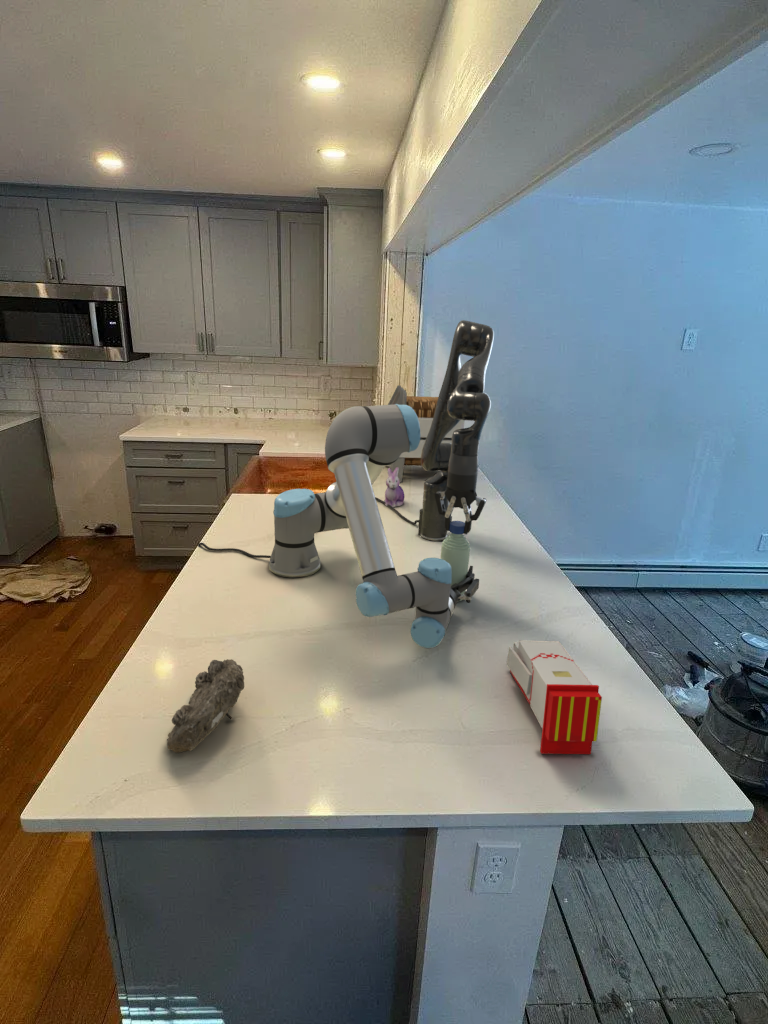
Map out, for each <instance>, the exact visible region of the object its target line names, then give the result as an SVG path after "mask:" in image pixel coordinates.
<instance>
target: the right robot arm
mask: <svg viewBox="0 0 768 1024" xmlns="http://www.w3.org/2000/svg"><path fill="white" fill-rule="evenodd" d="M452 338H453V339H452V343H451V347H450V352H449V357H448V361H447V366H446V370H445V374H444V377H443V381H442V384H441V387H440V390H439V393H438V396H437V397H438V401H437V405H436V409H435V413H434V417H433V420H432V424H431V427H430V430H429V433H428V435H427V438H426V440H425V443H424V446H423V449H422V452H421V465H422V466H421V467H422V469H423V470H424V471H427V472H436V473H435V474H434V475H432V476H430V477H428V478H427V479H425V480H424V482H423V493H422V496H423V497H422V506H421V508H420V509H419V516H418V519H416V520H415V521H411V520H410V519H408V518H407V517H406V516H403V515H402V514H401V513H400V512H399V511H398V510H397V509H396V508H395V507H392V506H390V505H389V504H388V505H387V506H386V507H388V508H389V509H391V510H392V511H393V512H394V513H395V514H397V516H399V518H401V519H403V520H404V521H405V522H407V523H409V524H410V525H414V526H416V525H417V524H418V530H417V535H418V536H420V538H421V539H424V540H426V541H432V542H440V541H443V540H444V539H445V538H446V537H448V532H450V531H449V527H450V522H451V521H453V516H452V514H453V511H454V509H455V508H457V509H458V508H459V509H462V511H463V514H464V517H465V521H464V522H465V528H464V534H463V535H468V533H470V532H471V530H472V525H473V522H472V521H474V522H475V521H477V520H478V519H479V518H480V516H481V513H482V512H483V510H484V507H485V505H486V503H487V497H486V498H485V497H480V496H479V495H478V494H477V482H478V480H477V479H478V474H479V473H478V472H479V453H480V452H479V451H480V445H481V444H480V442H481V437H482V432H483V429H484V426H485V423H486V421H487V420H488V419H487V418H488V416H489V414H490V411H491V408H492V401H491V398H490V396H489V394H487V393H486V392H485V386H486V385H485V384H486V373H487V369H488V365H489V361H490V358H491V353H492V349H493V345H494V338H495V331H494V328H493V327H491V326H489V325H487V324H482V323H479V322H475V321H471V320H467V319H466V320H465V319H462V320H460V321H459V322H458V323H457V325H456V328H455V330H454V334H453V337H452ZM461 355H462V356H468V357H471V358H470V359H468V360H467V361H465V362H464V363H463V364H462V363H461ZM460 420H465V421H468V422H469V421H470V422H474V423H473V424H472V425H470V426H468V427H464V428H463V429H457V430H455V431H454V432H453V435H452V444H451V443H441V442H442V440H443V438H444V437H445V436H446V435H447V434H448V433H449V432H450V431H451V430H452V429H453V428H454V427H455V426H456V425H457V424H458V423H459V421H460ZM375 499H376V501H378V502H380V503H382V504H383V505H385V504H386V502H384V501H385V500H382V499H380V498H378V497H376V496H375ZM473 502H475V505H476V506H477V508H476V510H475V511H474V513H473V512H472V509H473V508H472V504H473Z"/></svg>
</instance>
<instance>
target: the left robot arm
mask: <svg viewBox="0 0 768 1024" xmlns="http://www.w3.org/2000/svg"><path fill="white" fill-rule="evenodd" d="M420 435H421V434H420V424H419V420H418V417H417V415H416V413H415V411H414V410H413V409H412V408H411V407H410V406H408V405H398V404H395V405H388V404H379V405H362V406H361V405H355V406H351V407H347V408H346V409H343V411H341V412H339V413H338V414H337V415H336V417H334V419H333V420H332V422H331V423H330V426H329V428H328V429H327V433H326V436H325V441H324V442H325V444H324V457H325V461H326V465H327V469H328V471H329V472H331V473H333V475H334V478H335V482H333V483H331V484H330V485H329V486H328V487H327V489H326V490H325V492H317V493H315V492H314V491H313V490H312V489H309V488H292V489H289V490H285V491H283V492H281V493H279V494H278V495H277V496H276V497H275V499H274V502H273V511H272V512H273V519H274V526H273V527H274V545H273V548H272V551H271V554H270V555H266V554H265V555H264V554H259V555H258V554H253V553H249V552H248V551H246V550H243V549H240V548H234V547H233V548H232V547H231V548H230V547H228V548H213V547H209V546H208V545H207V544H205V543H204V542H199V543H197V547H200V546H202V547H203V548H204V549H207V550H208V551H212V552H238V553H242V554H244V555H246V556H248V557H251V558H256V559H269V562H268V568H269V571H270V572H271V573H272V574H274V575H276V576H278V577H283V578H291V579H294V578H295V579H296V578H304V577H308V576H311V575H314V574H315V573H317V572H318V571H320V569H321V558H320V555H319V552H318V550H317V546H316V543H315V534H317V533H323V532H324V533H325V532H330V531H336V530H343V529H349V534H350V537H351V541H352V544H353V549H354V552H355V557H356V560H357V563H358V566H359V570H360V575H361V579H362V582H361V583H359V584H358V585H357V587H356V588H355V597H356V598H355V602H356V606H357V608H358V611H359V612H360V613H361V614H362V615H363V616H364V617H366V618H374V617H378V616H379V617H380V616H387V615H389V614H392V613H397V612H401V611H404V610H409V609H414V608H415V613H414V619H413V620H412V622H411V627H410V637H411V639H412V640H413V642H414V643H415V644H416V645H417V646H419V647H421V648H424V649H432V648H435V647H437V646H439V645H440V644H441V642H442V640H443V639H444V637H445V635H446V632H447V629H448V626H449V623H450V621H451V619H452V616H453V614H454V611H455V609H456V606H457V604H458V603H459V602H461V601H460V599H463V601H465V603H467V604H470V603H471V601H472V598H473V596H474V595H475V593H476V592H477V591H478V589H479V587H480V578H475V576H476V575H475V573H474V572H473V570H474V566H473V565H470V566H469V567H468V573H467V575H466V579H464V580H463V581H461V582H459V583H458V584H457V583H455V584H453V585H451V583H452V572H451V566H450V564H449V563H448V562H446V561H445V560H443V559H441V558H439V557H426V558H423V559H422V560H420V561H419V562H418V566H417V571H414V572H409V573H405V574H399V575H398V574H397V570H396V568H395V564H394V561H393V557H392V552H391V550H390V549H391V548H390V546H389V542H388V539H387V534H386V532H385V531H386V530H385V528H384V524H383V520H382V517H381V513H380V510H379V506H378V502H377V500H376V499H375V497H376V494H375V492H374V488H373V484H374V483H375V482H376V480H377V479H378V477H379V476H380V475H381V473H382V471H383V470H384V469H385V467H387V466H388V465H391V464H393V463H394V462H395V461H396V460H397V459H398V458H399V456H400V455H401V453H403V452H411V451H414V450H416V449H417V447H418V445H419V442H420ZM465 590H466V591H465ZM463 591H465V593H463V594H461V593H462V592H463ZM458 601H459V602H458Z"/></svg>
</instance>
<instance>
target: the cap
mask: <svg viewBox="0 0 768 1024" xmlns="http://www.w3.org/2000/svg"><path fill="white" fill-rule="evenodd" d="M464 528H465V521H461V520H452V521H451V522H450V527H449V531H448V532H449V533H450V534H451V533H453V534H463V535H465V534H464Z"/></svg>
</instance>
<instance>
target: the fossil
mask: <svg viewBox="0 0 768 1024" xmlns="http://www.w3.org/2000/svg"><path fill="white" fill-rule="evenodd" d="M243 670H244V669H243V667H242V665H240V664H237V662H236V661H235V660H234V659H232V658H231V659H227V658H226V659H224V660H223V661H222V660H217V659H212V660H211V661H210V663H209V665H208V666H207V671H201V672H199V673H198V674H197V675H196V676H195V680H194V684H195V685H194V687H195V689H194V690H193V693H192V694H191V697H190V698H189V700H188V704H184V705H182V706H181V707H180V709H177V710H176V711H175V713H174V715H173V716H172V718H171V723H172V724H173V727H172V730H171V731H170V732H168V734H167V738H166V741H167V742H166V745H167V749H168V750H169V751H173V752H174V753H176V754H178V753H182V752H188V751H189V752H192V751H193V750H195V748H196V747H197V746H199V744H200V743H201V742H203V741H204V740H205V739H206V738H207V737H208V736H209V735H210V734H211V733H212V732H214V730H215V729H217V727H218V726H219V724H220V722H221V721H222V720H223V719H224V718H225V716H226V717H227V719H229V720H233V717H232V715H230V714H229V710H230V709H231V708H234V706H235V704H236V703H237V702H238V699H239V697H240V695H241V693H242V691H243V690H245V689H244V688H245V675H244V671H243Z"/></svg>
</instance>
